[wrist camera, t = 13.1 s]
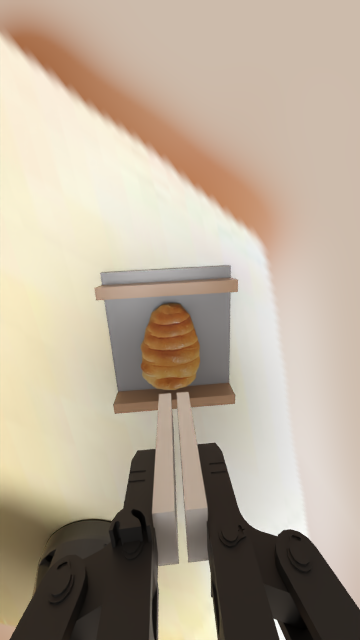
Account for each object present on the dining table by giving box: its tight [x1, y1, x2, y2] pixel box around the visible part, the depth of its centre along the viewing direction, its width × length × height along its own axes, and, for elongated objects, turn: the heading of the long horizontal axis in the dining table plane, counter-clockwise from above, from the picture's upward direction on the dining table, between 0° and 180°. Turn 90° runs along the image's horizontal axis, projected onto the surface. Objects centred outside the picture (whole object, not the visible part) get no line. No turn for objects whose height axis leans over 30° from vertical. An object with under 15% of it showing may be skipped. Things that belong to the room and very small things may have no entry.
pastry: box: [140, 303, 200, 390], centre depth 23 cm, size 9×7×4 cm
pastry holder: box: [95, 266, 238, 414], centre depth 24 cm, size 14×17×3 cm
